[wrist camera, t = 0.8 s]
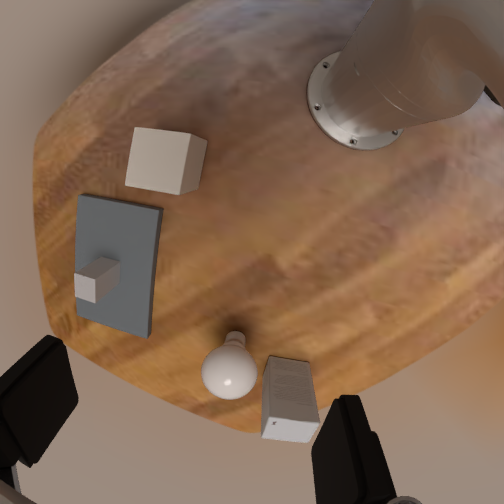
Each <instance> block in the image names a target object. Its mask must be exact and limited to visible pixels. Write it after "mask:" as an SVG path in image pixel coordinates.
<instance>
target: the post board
mask: <svg viewBox="0 0 504 504" xmlns="http://www.w3.org/2000/svg"><path fill="white" fill-rule="evenodd" d="M162 214H163V209H162V208H157V207H152V206H147V205H142V204H137V203H132V202H126V201H121V200H116V199H110V198H105V197H100V196H94V195H89V194H81V195H78V205H77V220H76V245H75V273H74V278H75V296H76V304H77V315H78V316H81V317H84V318H86V319H89V320H92V321H95V322H97V323H100V324H103V325H106V326H109V327H112V328H115V329H118V330H121V331H124V332H127V333H130V334H133V335H137V336H140V337H143V338H146V339H148V337H149V336H150V334H151V323H152V307H153V294H154V282H155V272H156V262H157V253H158V244H159V236H160V229H161V221H162Z"/></svg>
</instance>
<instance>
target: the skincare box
mask: <svg viewBox="0 0 504 504" xmlns="http://www.w3.org/2000/svg"><path fill="white" fill-rule="evenodd" d="M319 424H320V420H319V414H318V409H317V403H316V397H315V392H314V386H313V380H312V375H311V369H310V364H309V362H303V361H296V360H290V359H284V358H279V357H273V356H269V359H268V362H267V365H266V368H265V371H264V374H263V383H262V418H261V438H266V439H275V440H283V441H293V442H305V443H308V442H309V440H310V439H311V437H312V436H313V434H314V432H315V431H316V429H317V428H318V426H319Z"/></svg>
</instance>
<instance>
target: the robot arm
mask: <svg viewBox="0 0 504 504" xmlns="http://www.w3.org/2000/svg"><path fill="white" fill-rule="evenodd" d="M323 66H326V67H327V68H324V67H323ZM485 85H486V86H487V87H488V88H489V89H490V91H491V92H492V93H493V95H494V96H495V97H496V99H497V100H498V102H499V103H500V105H501V106H502V107H503V109H504V0H374V2H373V4H372V5H371V7H370V9H369V10H368V12H367V13H366V15H365V16H364V18H363V19H362V21H361V23H360V24H359V26H358V27H357V29H356V30H355V32H354V33H353V35H352V36H351V38H350V39H349V41H348V42H347V44H346V46H345V47H344V49H343V50H342V51H339V52H336V53H333V54H330V55H329V56H327V57H326V58H324V59H322V60H321V61H320V62H319V63H318V65H317V66H316V67H315V69H314V70H313V72H312V74H311V76H310V78H309V82H308V87H307V100H308V105H309V109H310V111H311V114H312V116H313V118H314V120H315V121H316V123H317V125H318V126H319V127H320V128H321V130H322V131H323V132H324V133H325V134H326V135H327V136H329V137H330V138H331V139H332V140H334V141H335V142H337V143H339V144H341V145H343V146H345V147H348V148H351V149H355V150H362V151H363V150H375V149H380V148H383V147H385V146H388V145H389V144H391V143H392V142H394V141H395V140H396V139H397V138H398V137H399V136H400V135H401V133H402V132H403V130H404V129H405V128H407V127H411V126H415V125H419V124H423V123H428V122H432V121H436V120H441V119H446V118H450V117H454V116H457V115H460V114H462V113H464V112H465V111H467V110H468V109H470V108H471V107H472V106H473V105H474V104H475V103H476V101H477V100H478V99H479V97H480V96H481V94H482V92H483V90H484V87H485ZM315 107H318V108H319V110H315ZM392 131H393V134H392ZM350 140H353V144H351V143H350ZM77 404H78V394H77V390H76V387H75V383H74V379H73V375H72V371H71V368H70V363H69V358H68V354H67V349H66V346H65V345H64V344H63V341H62V340H61V339H59V338H56V337H54V336H51V335H46V336H45V337H44V338H43V339H41V340H40V341H39V342H38V343H37V344H36V345H35V346H33V348H31V349H30V350H29V351H28V352H27V353H26V354H25V355H24V356H23V357H21V358H20V359H19V360H18V361H17V362H16V363H15V364H14V365H13V366H12V367H10V369H8V370H7V371H6V372H5V373H4V374H3V375H2V376H1V377H0V504H36V503H35V502H33V501H31V500H30V499H28V498H26V497H25V496H23V495H22V494H21V490H20V485H19V480H18V475H17V469H16V462H17V461H18V460H19V461H20V462H21V463H23V464H24V465H26V466H28V467H29V468H31V466H32V465H33V463H34V464H35V463H37V462H38V461H39V460H40V458H41V457H42V455H43V454H44V452H45V450H46V449H47V448H48V446H49V444H50V443H51V442H52V440H53V439H54V437H55V436H56V434H57V433H58V431H59V430H60V428H61V427H62V426H63V424H64V423H65V421H66V420H67V418H68V417H69V416H70V414H71V413H72V411H73V410H74V409H75V407H76V406H77ZM311 455H312V463H313V474H314V484H315V494H316V504H422V503H421V502H420V501H418V500H417V499H415V498H412V497H409V496H400V497H397V495H396V491H395V488H394V485H393V481H392V479H391V475H390V472H389V469H388V466H387V462H386V459H385V456H384V453H383V450H382V447H381V444H380V441H379V438H378V436H377V434H376V433H375V432H374V431H371V429H370V426H369V424H368V420H367V417H366V414H365V411H364V408H363V405H362V403H361V400H360V397H359V396H358V395H341V396H340V397H339V399H334V401H333V403H332V405H331V408H330V410H329V412H328V414H327V417H326V419H325V421H324V423H323V426H322V427H321V430H320V432H319V434H318V436H317V438H316V440H315V442H314V444H313V446H312V451H311Z"/></svg>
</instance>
